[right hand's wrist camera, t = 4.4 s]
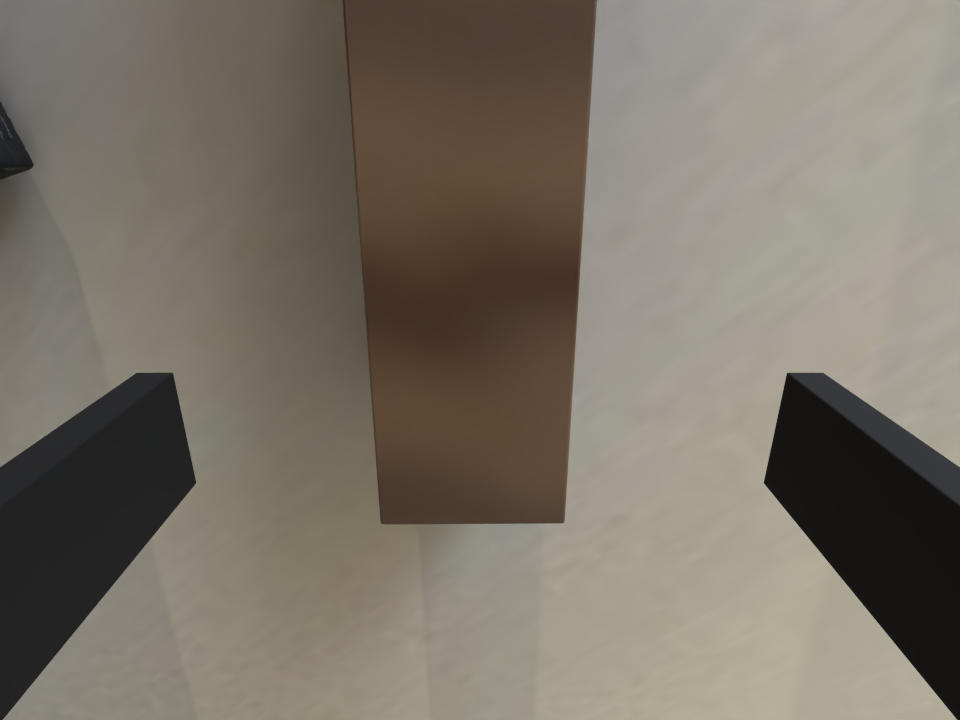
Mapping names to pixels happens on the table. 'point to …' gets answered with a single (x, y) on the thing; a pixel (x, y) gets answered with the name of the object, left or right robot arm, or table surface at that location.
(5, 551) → the right robot arm
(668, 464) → the table surface
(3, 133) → the graphics card box
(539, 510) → the bar
